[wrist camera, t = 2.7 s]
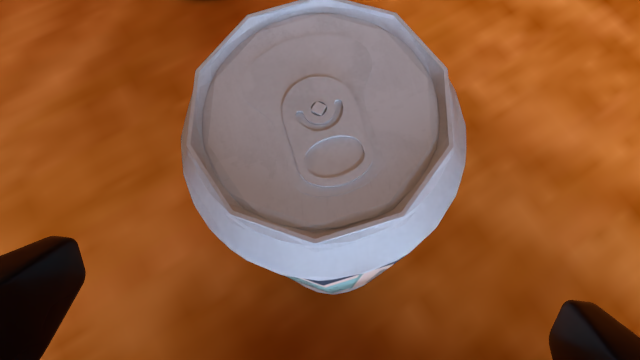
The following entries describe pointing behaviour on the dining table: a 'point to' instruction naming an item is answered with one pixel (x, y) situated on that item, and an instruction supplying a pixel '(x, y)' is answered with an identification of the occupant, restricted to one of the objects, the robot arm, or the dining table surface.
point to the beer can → (323, 142)
